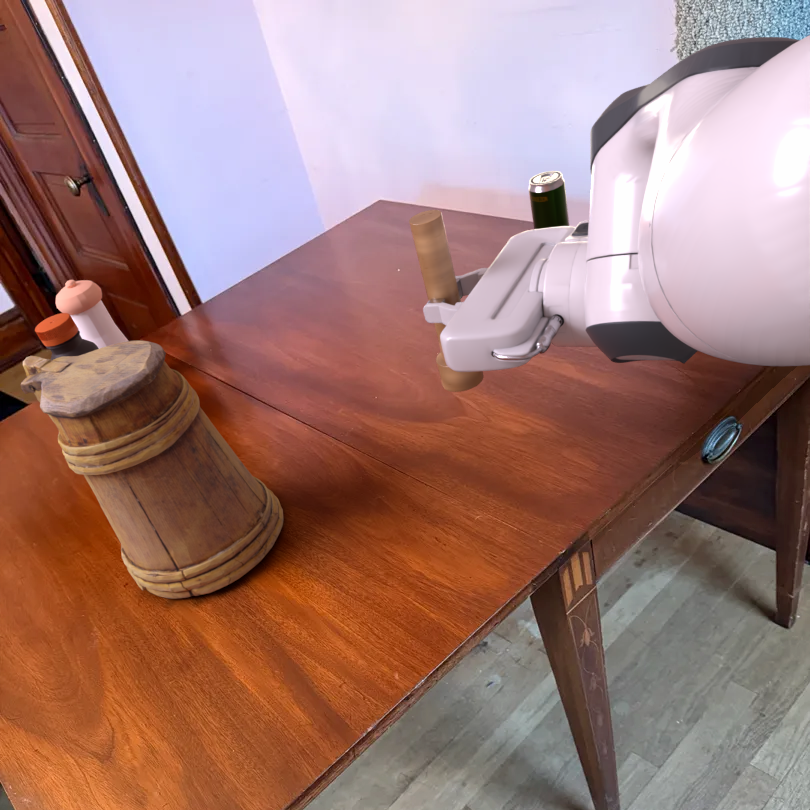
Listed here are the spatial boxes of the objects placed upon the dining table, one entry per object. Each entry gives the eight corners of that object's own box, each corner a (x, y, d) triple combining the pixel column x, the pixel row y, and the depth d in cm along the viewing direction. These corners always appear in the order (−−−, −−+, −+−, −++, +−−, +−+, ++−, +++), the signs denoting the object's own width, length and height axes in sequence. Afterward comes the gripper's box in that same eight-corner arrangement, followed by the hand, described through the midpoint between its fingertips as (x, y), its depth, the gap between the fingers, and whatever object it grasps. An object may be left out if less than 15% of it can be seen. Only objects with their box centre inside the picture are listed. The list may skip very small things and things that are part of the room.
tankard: (230, 615, 79) (107, 424, 62) (79, 583, 90) (-60, 413, 73) (312, 500, 89) (225, 311, 73) (168, 484, 100) (64, 316, 84)
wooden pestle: (492, 376, 77) (459, 210, 65) (458, 397, 75) (419, 231, 64) (466, 364, 80) (430, 203, 69) (434, 383, 78) (392, 223, 67)
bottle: (136, 423, 115) (64, 305, 102) (157, 435, 111) (84, 313, 97) (99, 448, 112) (20, 330, 99) (119, 462, 108) (38, 340, 95)
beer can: (567, 261, 117) (558, 183, 109) (534, 264, 119) (523, 187, 111) (575, 245, 120) (567, 168, 112) (543, 248, 122) (532, 172, 114)
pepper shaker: (103, 400, 124) (36, 293, 111) (131, 375, 128) (70, 269, 115) (133, 402, 120) (67, 293, 108) (161, 377, 124) (101, 268, 112)
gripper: (546, 392, 61) (399, 388, 68) (608, 274, 74) (478, 280, 80) (536, 323, 57) (380, 325, 64) (603, 210, 70) (467, 221, 76)
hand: (436, 299), depth 72 cm, fingers closed on wooden pestle, 3 cm apart
